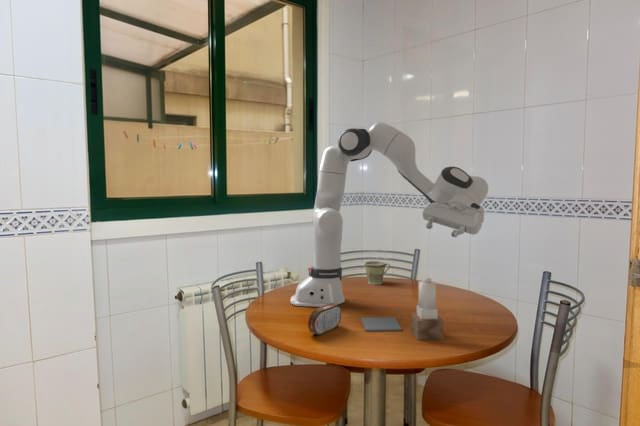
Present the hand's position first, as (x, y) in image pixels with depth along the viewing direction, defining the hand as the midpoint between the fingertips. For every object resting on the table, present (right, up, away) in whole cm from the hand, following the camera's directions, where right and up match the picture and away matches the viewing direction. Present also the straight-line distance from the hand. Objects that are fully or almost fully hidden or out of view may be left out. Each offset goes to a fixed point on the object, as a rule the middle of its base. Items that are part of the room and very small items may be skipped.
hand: (440, 231), depth 137 cm
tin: (-39, -33, -3) cm, 51 cm away
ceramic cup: (-12, -28, +62) cm, 70 cm away
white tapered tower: (-7, -27, -8) cm, 29 cm away
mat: (-20, -32, +2) cm, 38 cm away
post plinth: (-7, -33, -7) cm, 34 cm away
